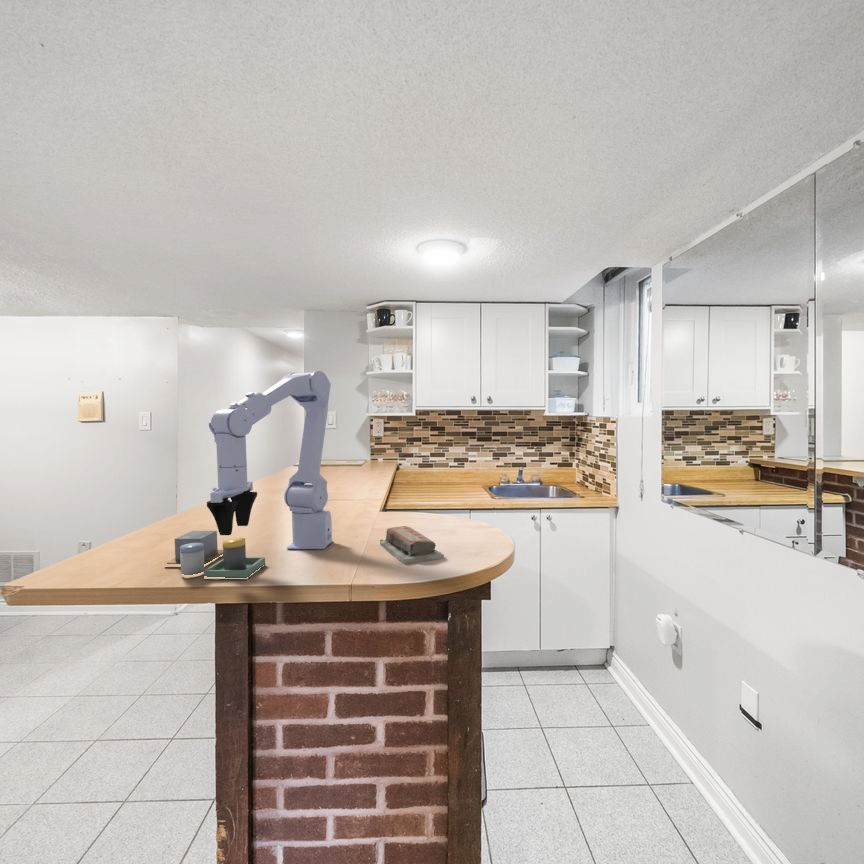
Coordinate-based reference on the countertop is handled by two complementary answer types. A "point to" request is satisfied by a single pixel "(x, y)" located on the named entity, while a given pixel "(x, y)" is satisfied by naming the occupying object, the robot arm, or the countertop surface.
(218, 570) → the parts tray
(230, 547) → the amber part
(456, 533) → the countertop surface
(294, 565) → the countertop surface
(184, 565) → the blue part
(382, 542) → the packaged product
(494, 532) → the countertop surface
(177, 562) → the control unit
